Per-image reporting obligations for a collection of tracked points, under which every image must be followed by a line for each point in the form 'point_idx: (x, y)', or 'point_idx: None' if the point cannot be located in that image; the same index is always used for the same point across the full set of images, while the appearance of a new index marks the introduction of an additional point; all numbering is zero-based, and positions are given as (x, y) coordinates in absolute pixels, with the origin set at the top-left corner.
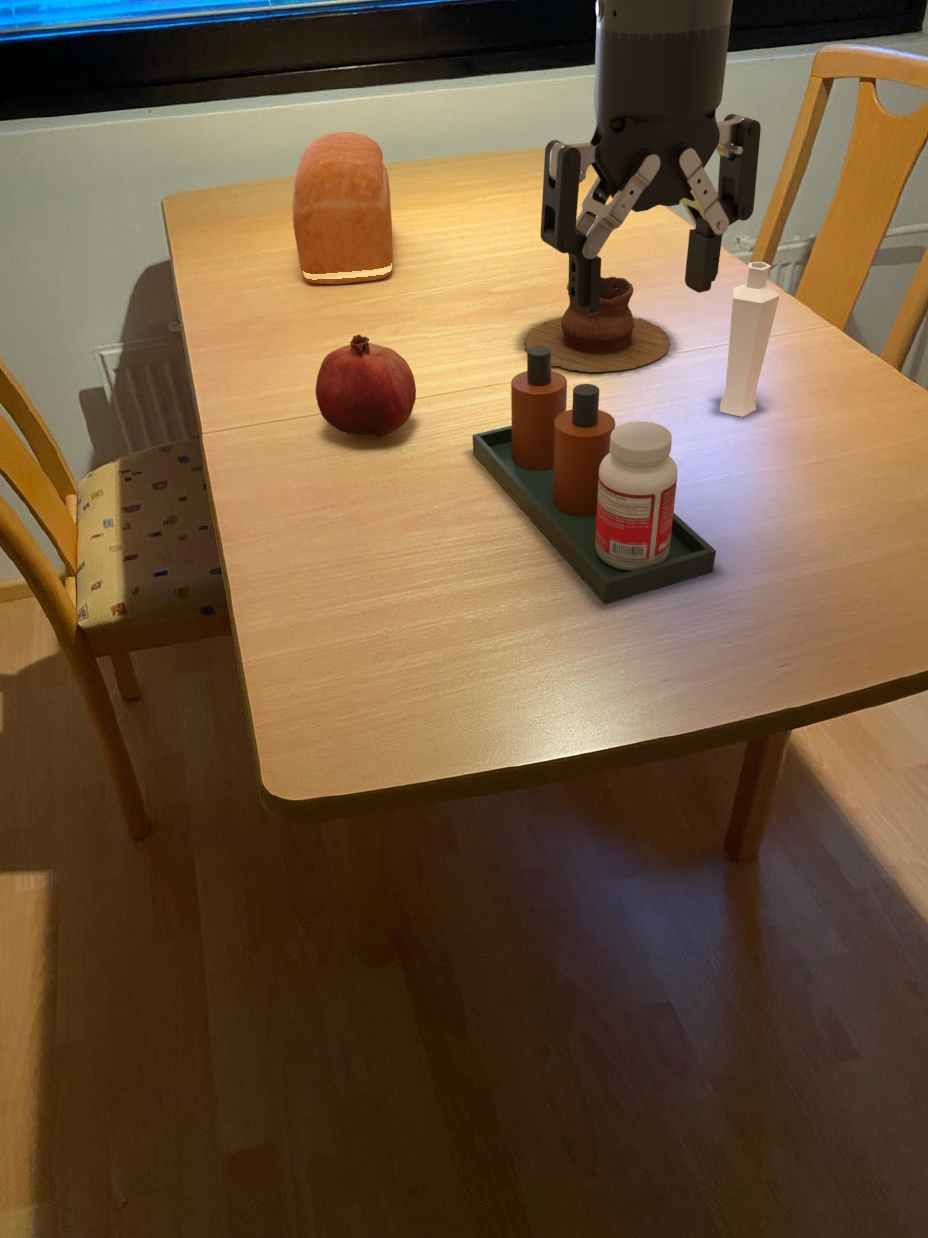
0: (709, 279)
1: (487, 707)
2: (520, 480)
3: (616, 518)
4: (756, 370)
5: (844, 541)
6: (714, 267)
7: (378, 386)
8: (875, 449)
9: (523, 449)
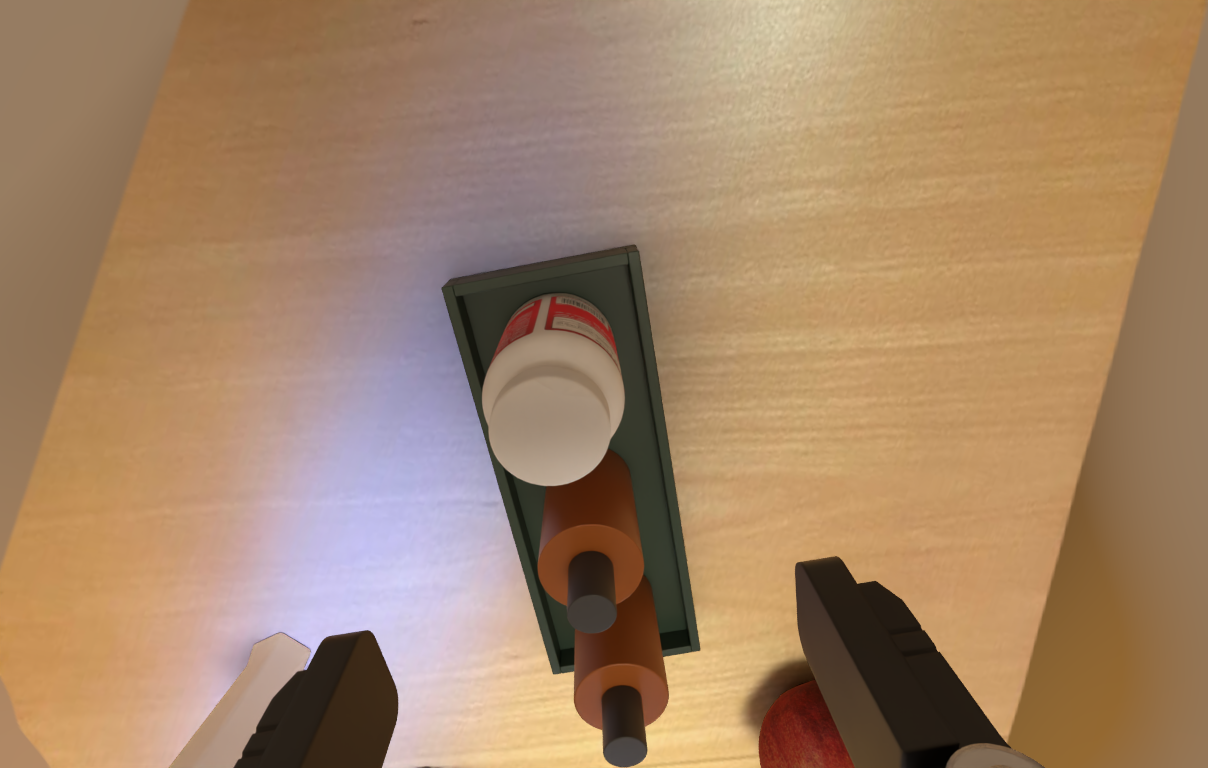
0: (319, 663)
1: (879, 56)
2: (657, 547)
3: (604, 336)
4: (227, 700)
5: (220, 300)
6: (278, 718)
7: (846, 749)
8: (95, 513)
9: (646, 596)
